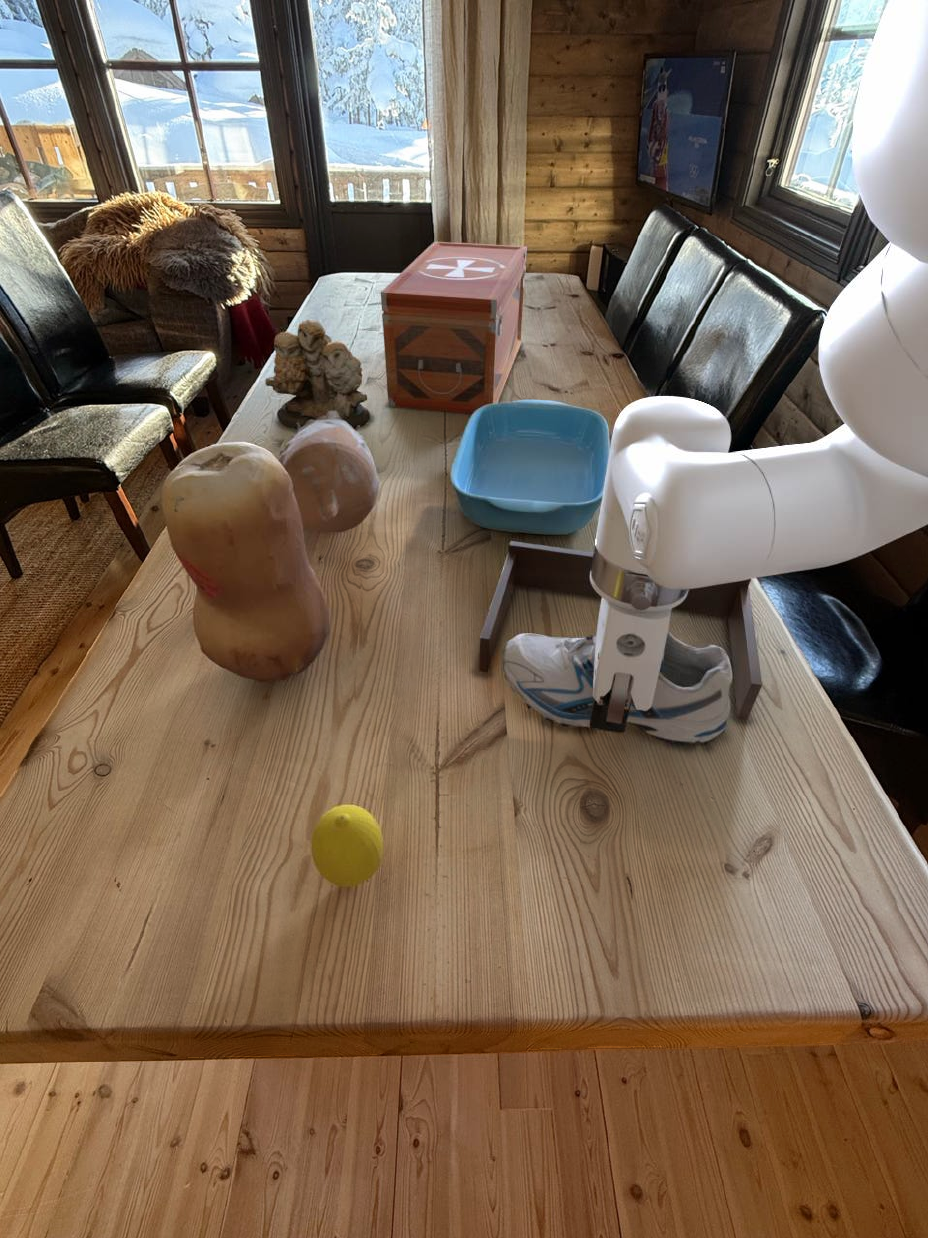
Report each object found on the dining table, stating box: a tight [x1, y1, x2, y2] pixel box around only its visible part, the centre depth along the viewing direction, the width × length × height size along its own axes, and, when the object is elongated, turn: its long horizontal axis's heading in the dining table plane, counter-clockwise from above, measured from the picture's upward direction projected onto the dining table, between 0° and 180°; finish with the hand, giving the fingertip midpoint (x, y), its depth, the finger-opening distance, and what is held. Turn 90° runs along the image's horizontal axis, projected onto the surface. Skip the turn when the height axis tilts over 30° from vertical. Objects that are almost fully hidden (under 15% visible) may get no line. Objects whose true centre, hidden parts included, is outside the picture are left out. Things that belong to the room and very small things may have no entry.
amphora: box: [277, 411, 380, 534], centre depth 93 cm, size 14×16×30 cm
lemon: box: [311, 804, 384, 888], centre depth 52 cm, size 6×6×8 cm
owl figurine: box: [264, 318, 371, 431], centre depth 115 cm, size 18×12×17 cm, turn 87°
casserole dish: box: [450, 399, 610, 536], centre depth 100 cm, size 37×22×7 cm, turn 171°
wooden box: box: [380, 241, 528, 415], centre depth 132 cm, size 20×41×20 cm, turn 169°
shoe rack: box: [478, 540, 763, 720], centre depth 74 cm, size 17×28×6 cm, turn 76°
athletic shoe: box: [501, 631, 733, 746], centre depth 65 cm, size 10×23×12 cm, turn 80°
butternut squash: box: [161, 441, 331, 683], centre depth 64 cm, size 14×13×25 cm
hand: (606, 724), depth 62 cm, fingers closed
